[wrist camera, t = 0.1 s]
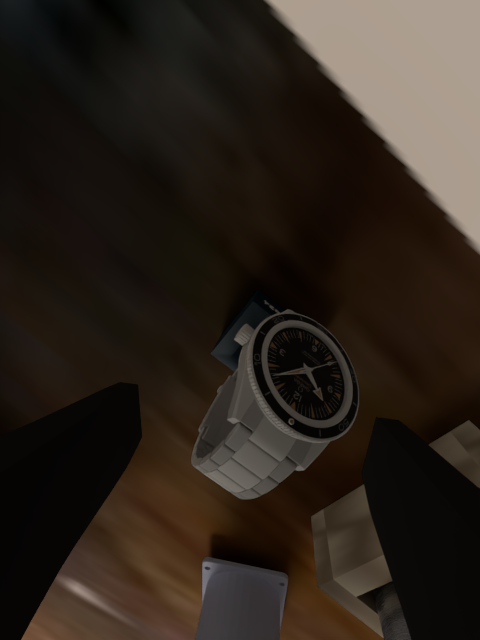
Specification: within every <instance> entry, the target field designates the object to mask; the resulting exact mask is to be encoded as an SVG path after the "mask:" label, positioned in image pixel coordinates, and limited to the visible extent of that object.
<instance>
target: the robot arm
mask: <svg viewBox="0 0 480 640" xmlns="http://www.w3.org/2000/svg"><path fill="white" fill-rule="evenodd" d="M141 438H142V430H141V417H140V404H139V391H138V385H137V384H129V383H122V382H120V383H117V384H114V385H112V386H109V387H107V388H105V389H103V390H101V391H98V392H96V393H94V394H92V395H90V396H88V397H86V398H84V399H81V400H79V401H77V402H75V403H73V404H71V405H69V406H67V407H65V408H62V409H60V410H58V411H56V412H54V413H52V414H50V415H48V416H45V417H43V418H41V419H39V420H36V421H34V422H32V423H30V424H27V425H25V426H23V427H21V428H18V429H16V430H14V431H11V432H9V433H7V434H5V435H2V436H0V640H21V639H22V637H23V635H24V633H25V631H26V629H27V627H28V626H29V624H30V622H31V620H32V618H33V616H34V615H35V613H36V611H37V609H38V608H39V606H40V604H41V602H42V600H43V599H44V597H45V595H46V593H47V592H48V590H49V588H50V586H51V584H52V583H53V581H54V579H55V577H56V576H57V574H58V572H59V570H60V569H61V567H62V565H63V564H64V562H65V561H66V559H67V557H68V556H69V554H70V553H71V551H72V549H73V548H74V546H75V545H76V543H77V542H78V540H79V539H80V537H81V536H82V534H83V533H84V531H85V530H86V528H87V527H88V525H89V524H90V522H91V521H92V519H93V518H94V516H95V515H96V513H97V512H98V510H99V509H100V507H101V506H102V504H103V503H104V501H105V500H106V498H107V497H108V495H109V494H110V492H111V491H112V489H113V488H114V486H115V485H116V483H117V482H118V480H119V479H120V477H121V476H122V474H123V472H124V471H125V469H126V468H127V466H128V464H129V462H130V460H131V458H132V456H133V454H134V452H135V450H136V448H137V446H138V444H139V442H140V440H141ZM362 477H363V482H364V487H365V492H366V497H367V501H368V506H369V510H370V514H371V517H372V520H373V523H374V526H375V529H376V532H377V536H378V539H379V542H380V545H381V548H382V551H383V554H384V557H385V560H386V563H387V566H388V569H389V572H390V575H391V578H392V581H393V584H394V587H395V590H396V593H397V596H398V599H399V602H400V605H401V608H402V611H403V614H404V617H405V620H406V623H407V627H408V630H409V633H410V637H411V640H480V488H479V487H477V486H476V485H475V484H474V483H473V482H471V481H470V480H469V479H468V478H467V477H465V476H464V475H463V474H462V473H461V472H459V471H458V470H457V469H456V468H455V467H454V466H452V465H451V464H450V463H449V462H448V461H447V460H445V459H444V458H443V457H442V456H441V455H440V454H439V453H437V452H436V451H435V450H434V449H433V448H432V447H430V446H429V445H428V444H427V443H426V442H425V441H423V440H422V439H421V438H420V437H419V436H418V435H416V434H415V433H414V432H413V431H412V430H410V429H409V428H408V427H407V426H406V425H404V424H403V423H402V422H400V421H399V420H392V419H385V418H378V417H376V419H375V423H374V427H373V431H372V435H371V439H370V443H369V446H368V450H367V454H366V458H365V462H364V466H363V469H362ZM287 586H288V575H287V574H285V573H283V572H278V571H273V570H269V569H264V568H259V567H254V566H249V565H245V564H240V563H235V562H230V561H225V560H221V559H216V558H211V557H205V558H204V559H203V563H202V609H201V614H200V618H199V623H198V628H197V632H196V637H195V640H280V628H281V622H282V616H283V610H284V604H285V598H286V592H287Z"/></svg>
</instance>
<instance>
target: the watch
mask: <svg viewBox="0 0 480 640" xmlns="http://www.w3.org/2000/svg"><path fill="white" fill-rule="evenodd" d="M211 354H212V355H213V356H214V357H216V358H217V359H218V360H220V361H221V362H222V363H224V364H225V365H226V366H228V367H229V368H230V369H232V370H233V371H234V374H233V375H232V376H230V375H229V376H228V378H227V380H226V381H225V383H224V384H223V385H221V386H220V387H219V389H218V391H217V393H218V394H217V396H216V398H215V399H214V401H213V403H212V405H211V406H210V408H209V410H208V412H207V414H206V416H205V417H204V419H203V421H202V423H201V425H200V427H199V432H200V434H199V436H198V438H197V441H196V443H195V446H194V449H193V453H192V458H191V460H192V461H191V463H192V465H193V466H194V467H195V468H197V469H198V470H199V471H201V472H202V473H203V474H205V475H206V476H207V477H209V478H210V479H212V480H213V481H214V482H216V483H217V484H219V485H220V486H222V487H223V488H224V489H226V490H227V491H229V492H231V493H232V494H233V495H235V496H236V497H238V498H240V499H253V498H257V497H260V496H261V495H263V494H265V493H267V492H269V491H270V490H272V489H273V488H275V487H276V486H277V485H278V483H280V482H282V481H283V480H284V479H286V478H287V477H288V476H289V475H290V474H291V473H292V472H293V471H294V470H297V471H304V470H305V469H306V468H307V467H308V466H309V465H310V464H311V463H312V462H313V461H314V460H315V459H316V458H317V457H318V455H319V454H320V453H321V452H322V451H323V450H324V449H325V447H326V446H327V445H328V444H329V443H330V441H332V440H335V439H338V438H340V437H341V436H342V435H344V434H345V433H346V432H347V431H348V430H349V429H350V427H351V425H353V423H354V420H355V417H356V415H357V412H358V406H359V389H358V388H359V387H358V383H357V382H358V381H357V377H356V374H355V371H354V368H353V365H352V363H351V361H350V359H349V357H348V356H347V354H346V352H345V350H344V349H343V347H342V346H341V344H340V343H339V342H338V341H337V339H336V338H335V337H334V336H333V335H332V334H331V333H330V332H329V331H328V330H327V329H326V328H324V327H323V326H322V325H321V324H319V323H317V322H316V321H315V320H312V319H310V318H309V317H307V316H304V315H300V314H297V313H295V312H293V311H292V310H290V309H287V310H284V309H282V308H281V307H280V306H278V305H277V304H276V303H275V302H273V301H272V300H271V299H270V298H268V297H267V296H266V295H264V294H263V293H262V292H261V291H259V290H257V291H256V293H255V294H254V295H253V296H252V298H251V299H250V300H249V301H248V303H247V304H246V305H245V306H244V308H243V309H242V310H241V311H240V313H239V314H238V315H237V316H236V318H235V319H234V320H233V321H232V323H231V324H230V325H229V326H228V327H227V329H226V330H225V331H224V332H223V334H222V335H221V337H220V338H219V340H218V342H217V343H216V345H215V347H214V349H213V350H212V352H211Z"/></svg>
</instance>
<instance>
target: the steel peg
mask: <svg viewBox="0 0 480 640" xmlns="http://www.w3.org/2000/svg"><path fill="white" fill-rule="evenodd" d="M372 592H373V596H374V600H375V604H376V608H377V612H378V616H379V620H380V624H381V629H382V633H383V637H384V640H411V637H410V633H409V630H408V627H407V623H406V620H405V617H404V614H403V611H402V608H401V605H400V602H399V599H398V596H397V593H396V590H395V587H394V584H393V581H391V582H389V583H386V584H384V585H382V586H380V587H377V588H375V589H373V590H372Z"/></svg>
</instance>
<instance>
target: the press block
mask: <svg viewBox="0 0 480 640" xmlns="http://www.w3.org/2000/svg"><path fill="white" fill-rule="evenodd" d="M429 446H430V447H432V448H433V449H434V450H435V451H436V452H437V453H439V454H440V455H441V456H442V457H443V458H444V459H445V460H447V461H448V462H449V463H450V464H451V465H452V466H454V467H455V468H456V469H457V470H458V471H459V472H461V473H462V474H463V475H464V476H465V477H467V478H468V479H469V480H470V481H471V482H473V483H474V484H475V485H476V486H477V487H479V488H480V430H479V429H478V428H477V427H476V426H475V425H474V424H473V423H472V422H471V421H470V420H468V421H466V422H465V423H463V424H461V425H460V426H458V427H456V428H455V429H453V430H452V431H450V432H448V433H447V434H445V435H443V436H442V437H440V438H438V439H437V440H435V441H434V442H432V443H430V444H429ZM311 523H312V534H313V544H314V555H315V565H316V575H317V586H318V588H320V589H321V590H322V591H324V592H325V593H326V594H327V595H329V596H330V597H331V598H333V599H334V600H335V601H336V602H338V603H339V604H340V605H342V606H343V607H344V608H345V609H347V610H348V611H349V612H351V613H352V614H353V615H355V616H356V617H357V618H358V619H360V620H361V621H362V622H364V623H365V624H366V625H367V626H369V627H370V628H371V629H373V630H374V631H375V632H376V633H378V634H379V635H380V636H382V637H383V633H382V629H381V624H380V620H379V616H378V612H377V608H376V604H375V600H374V596H373V592H372V590H373V589H375V588H377V587H380V586H382V585H384V584H386V583H389V582H391V581H392V578H391V575H390V572H389V569H388V566H387V563H386V560H385V557H384V554H383V551H382V548H381V545H380V542H379V539H378V536H377V532H376V529H375V526H374V523H373V520H372V517H371V514H370V510H369V506H368V501H367V497H366V492H365V487H364V484H363V485H362V486H360V487H358V488H357V489H355V490H353V491H352V492H350V493H349V494H347V495H345V496H344V497H342V498H340V499H339V500H337V501H335V502H334V503H332V504H331V505H329V506H327V507H326V508H324V509H322V510H321V511H319V512H317V513H316V514H314V515H313V516H311ZM383 638H384V637H383Z"/></svg>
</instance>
